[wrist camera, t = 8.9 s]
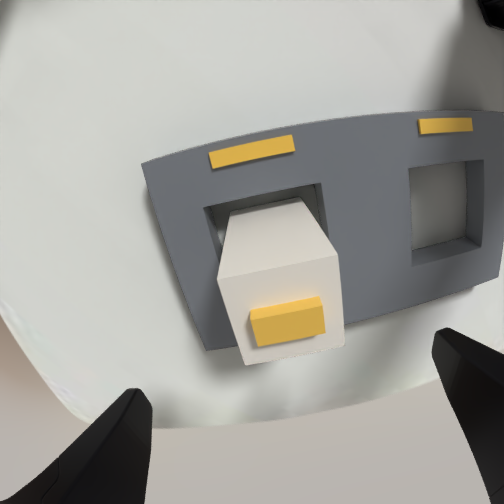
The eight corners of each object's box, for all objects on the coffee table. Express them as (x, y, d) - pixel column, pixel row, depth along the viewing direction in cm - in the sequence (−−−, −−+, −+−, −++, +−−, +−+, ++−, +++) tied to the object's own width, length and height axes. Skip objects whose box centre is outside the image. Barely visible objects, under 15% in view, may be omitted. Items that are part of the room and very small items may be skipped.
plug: (299, 196, 17) (342, 262, 9) (310, 259, 18) (348, 355, 11) (230, 211, 17) (214, 289, 9) (246, 272, 19) (245, 376, 11)
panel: (484, 110, 14) (505, 112, 12) (484, 265, 19) (499, 278, 17) (152, 159, 16) (139, 164, 14) (209, 331, 21) (206, 352, 19)
